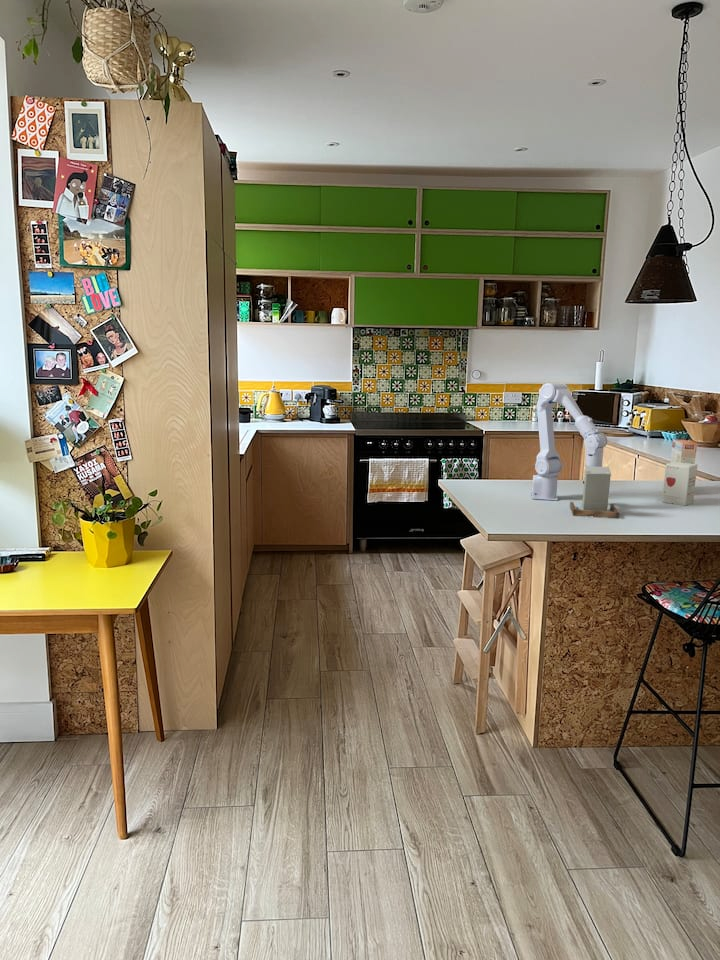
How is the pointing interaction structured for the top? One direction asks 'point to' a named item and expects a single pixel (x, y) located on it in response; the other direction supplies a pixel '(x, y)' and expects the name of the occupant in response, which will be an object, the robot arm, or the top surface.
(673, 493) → the supplement box
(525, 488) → the top surface
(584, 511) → the walnut bay
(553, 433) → the robot arm
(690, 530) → the top surface
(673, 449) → the cracker box
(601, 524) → the top surface
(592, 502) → the skincare box
